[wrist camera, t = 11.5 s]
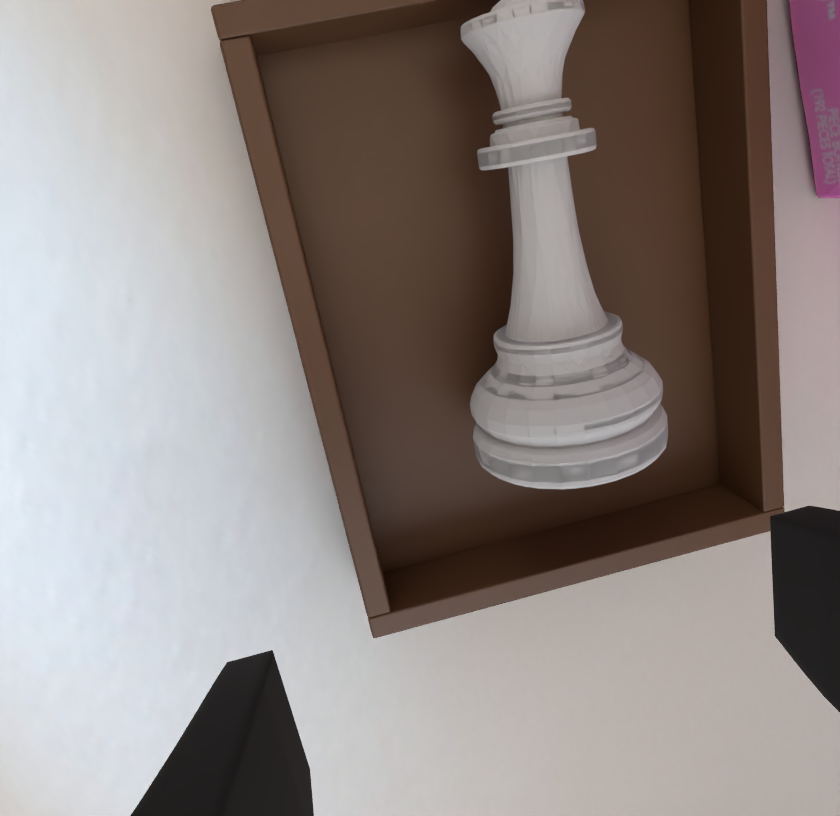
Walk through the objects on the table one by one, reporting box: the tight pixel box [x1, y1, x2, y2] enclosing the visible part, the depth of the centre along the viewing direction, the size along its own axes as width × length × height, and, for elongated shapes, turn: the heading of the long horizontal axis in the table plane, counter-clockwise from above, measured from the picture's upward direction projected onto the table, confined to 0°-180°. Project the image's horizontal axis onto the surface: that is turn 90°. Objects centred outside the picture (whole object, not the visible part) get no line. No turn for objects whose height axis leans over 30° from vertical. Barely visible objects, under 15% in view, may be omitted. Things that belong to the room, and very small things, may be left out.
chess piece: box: [460, 0, 668, 489], centre depth 14 cm, size 4×4×10 cm
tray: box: [211, 0, 784, 638], centre depth 17 cm, size 14×11×2 cm
